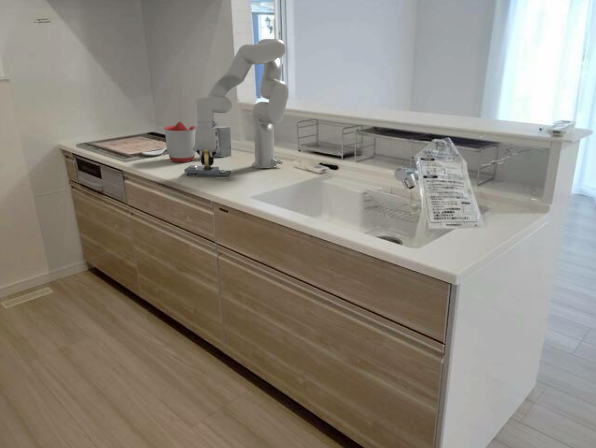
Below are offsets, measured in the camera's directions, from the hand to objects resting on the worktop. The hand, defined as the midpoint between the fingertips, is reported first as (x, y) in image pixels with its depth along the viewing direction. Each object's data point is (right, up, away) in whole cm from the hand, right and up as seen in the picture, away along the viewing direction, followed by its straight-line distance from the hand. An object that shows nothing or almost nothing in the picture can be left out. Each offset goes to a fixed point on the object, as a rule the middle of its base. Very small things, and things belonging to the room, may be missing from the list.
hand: (207, 164), depth 227 cm
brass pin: (0, -3, +1) cm, 3 cm away
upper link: (-3, -4, +2) cm, 6 cm away
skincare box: (+1, +10, +41) cm, 42 cm away
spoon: (-30, +12, +47) cm, 57 cm away
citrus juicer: (-18, +6, +30) cm, 36 cm away
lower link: (+3, -5, +1) cm, 6 cm away
